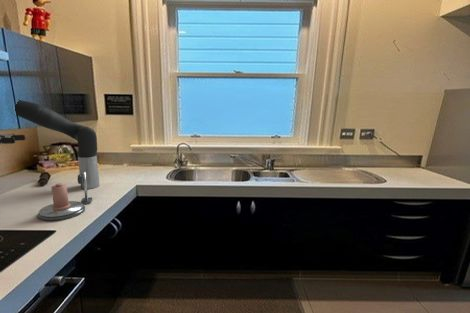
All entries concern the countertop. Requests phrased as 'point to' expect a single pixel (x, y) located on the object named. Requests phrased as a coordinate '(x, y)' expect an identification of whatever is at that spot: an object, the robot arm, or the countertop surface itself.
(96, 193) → the countertop surface
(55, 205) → the cover
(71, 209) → the disc
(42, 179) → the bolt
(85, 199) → the dial gauge
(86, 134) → the robot arm
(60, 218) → the base
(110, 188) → the countertop surface
